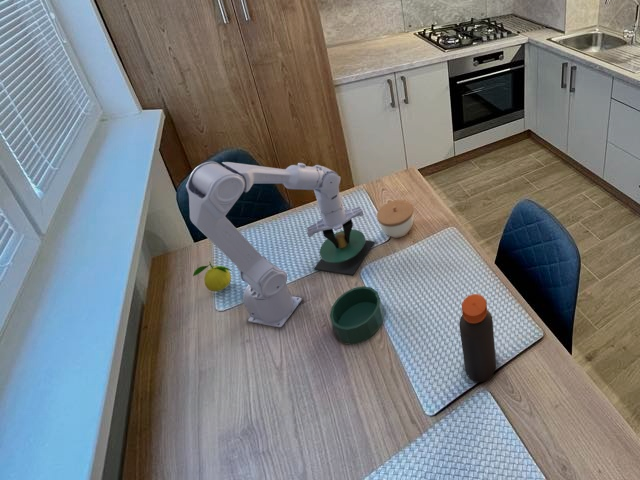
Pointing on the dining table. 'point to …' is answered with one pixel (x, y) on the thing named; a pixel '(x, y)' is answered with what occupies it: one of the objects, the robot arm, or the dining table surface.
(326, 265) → the mat
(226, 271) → the lemon
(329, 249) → the tin lid
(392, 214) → the trinket box
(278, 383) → the dining table surface
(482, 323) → the bottle
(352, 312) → the tin
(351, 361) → the dining table surface
